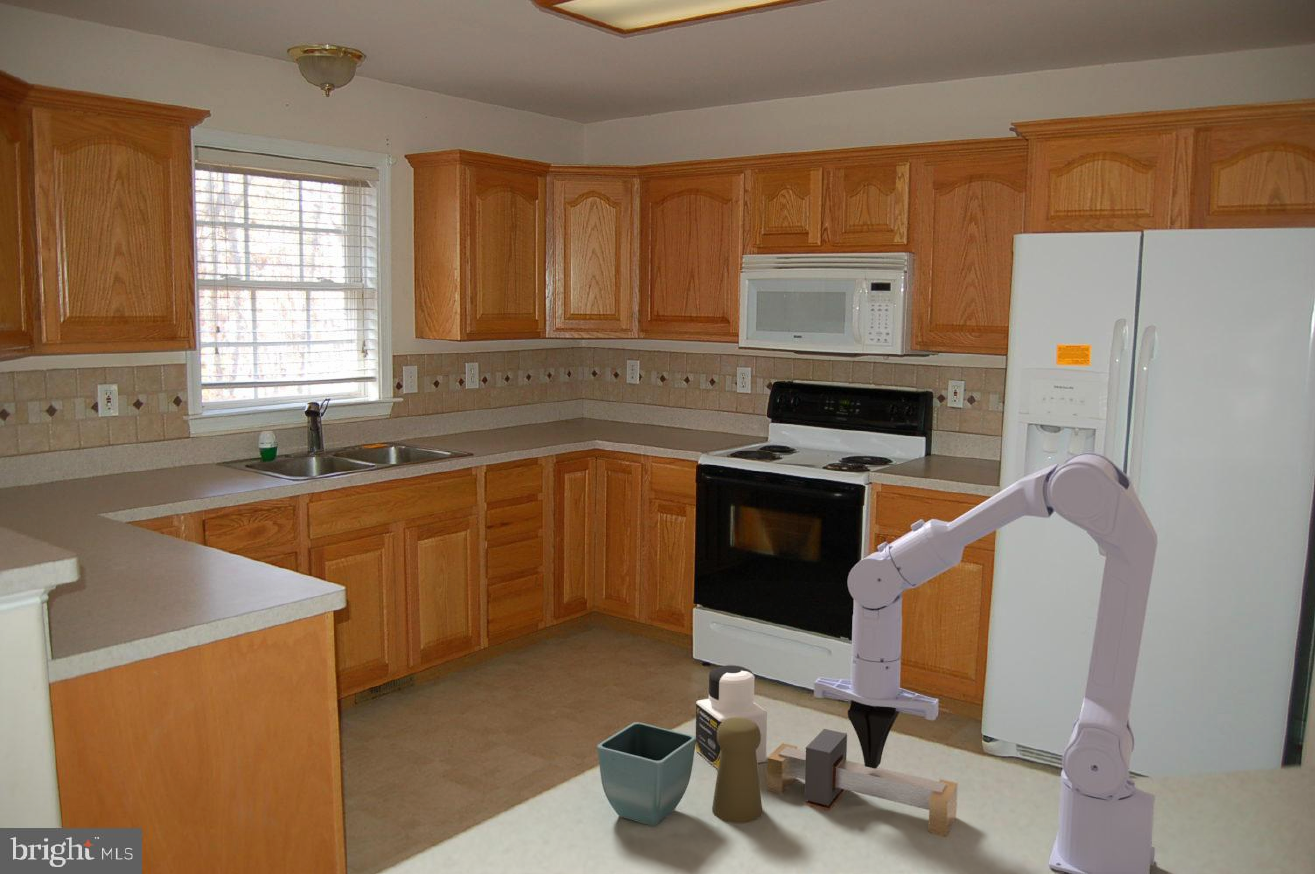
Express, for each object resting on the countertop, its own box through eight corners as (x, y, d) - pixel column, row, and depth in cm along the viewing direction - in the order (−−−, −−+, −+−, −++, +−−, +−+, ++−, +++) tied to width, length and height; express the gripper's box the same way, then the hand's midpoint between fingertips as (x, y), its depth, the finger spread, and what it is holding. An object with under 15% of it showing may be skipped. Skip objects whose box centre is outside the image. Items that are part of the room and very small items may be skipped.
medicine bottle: (694, 750, 133) (695, 665, 131) (740, 741, 136) (741, 658, 134) (719, 772, 126) (721, 682, 125) (767, 762, 129) (769, 674, 128)
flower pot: (634, 789, 121) (635, 719, 120) (697, 807, 117) (698, 735, 116) (594, 819, 114) (594, 745, 113) (659, 839, 109) (660, 763, 108)
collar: (845, 784, 122) (847, 733, 122) (828, 805, 117) (829, 752, 116) (822, 778, 124) (824, 728, 123) (804, 799, 118) (806, 747, 118)
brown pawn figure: (760, 825, 113) (762, 734, 112) (708, 819, 114) (709, 729, 113) (765, 801, 119) (767, 713, 117) (715, 795, 120) (717, 709, 119)
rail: (958, 813, 116) (959, 776, 115) (944, 840, 110) (945, 801, 109) (784, 771, 127) (785, 737, 126) (763, 793, 121) (764, 757, 120)
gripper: (946, 654, 115) (941, 764, 117) (828, 635, 122) (826, 739, 124) (931, 672, 109) (927, 788, 111) (808, 651, 116) (806, 760, 118)
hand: (872, 764), depth 117 cm, fingers closed
